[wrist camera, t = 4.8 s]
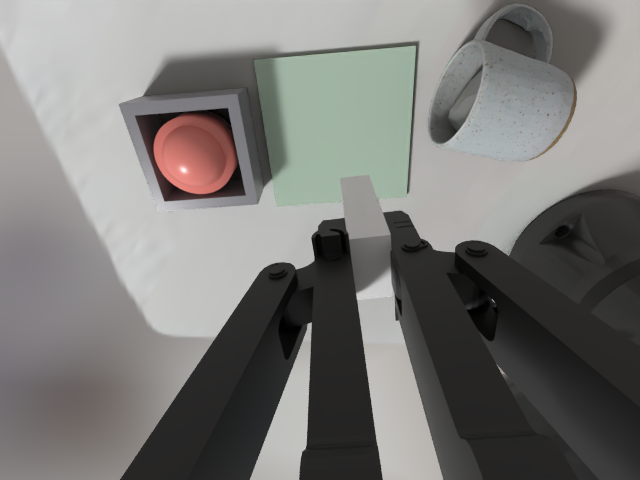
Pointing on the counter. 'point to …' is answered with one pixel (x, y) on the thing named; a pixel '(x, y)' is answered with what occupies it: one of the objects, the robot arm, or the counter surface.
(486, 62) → the ceramic mug
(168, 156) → the red dome
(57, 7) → the counter surface
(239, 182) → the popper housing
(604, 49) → the counter surface
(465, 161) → the counter surface
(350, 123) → the sage square
